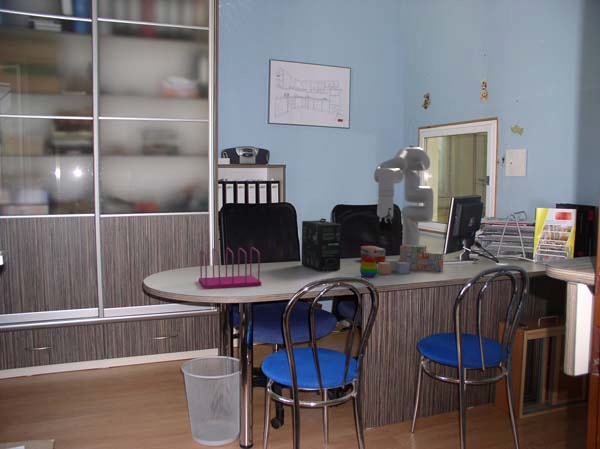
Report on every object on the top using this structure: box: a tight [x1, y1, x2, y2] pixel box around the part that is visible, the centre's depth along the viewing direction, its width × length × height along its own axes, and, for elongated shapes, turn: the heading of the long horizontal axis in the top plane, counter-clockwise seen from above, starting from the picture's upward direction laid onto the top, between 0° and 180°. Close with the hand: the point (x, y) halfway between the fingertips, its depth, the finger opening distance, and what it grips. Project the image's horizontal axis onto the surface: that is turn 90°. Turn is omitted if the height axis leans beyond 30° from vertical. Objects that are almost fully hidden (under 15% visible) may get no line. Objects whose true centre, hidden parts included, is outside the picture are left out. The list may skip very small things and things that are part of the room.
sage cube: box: [385, 258, 399, 271], centre depth 275 cm, size 5×5×5 cm
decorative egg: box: [359, 257, 378, 279], centre depth 256 cm, size 8×8×10 cm
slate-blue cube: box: [395, 261, 410, 275], centre depth 267 cm, size 5×5×5 cm
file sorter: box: [198, 246, 262, 290], centre depth 240 cm, size 17×25×16 cm
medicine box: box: [360, 245, 386, 264], centre depth 306 cm, size 15×8×8 cm, turn 20°
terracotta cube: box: [377, 262, 392, 275], centre depth 266 cm, size 5×5×5 cm
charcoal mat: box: [376, 268, 411, 276], centre depth 271 cm, size 16×17×1 cm
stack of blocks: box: [399, 244, 444, 272], centre depth 280 cm, size 21×6×12 cm, turn 62°
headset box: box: [300, 217, 342, 273], centre depth 282 cm, size 22×12×26 cm, turn 26°
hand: (385, 230), depth 264 cm, fingers open, 5 cm apart
